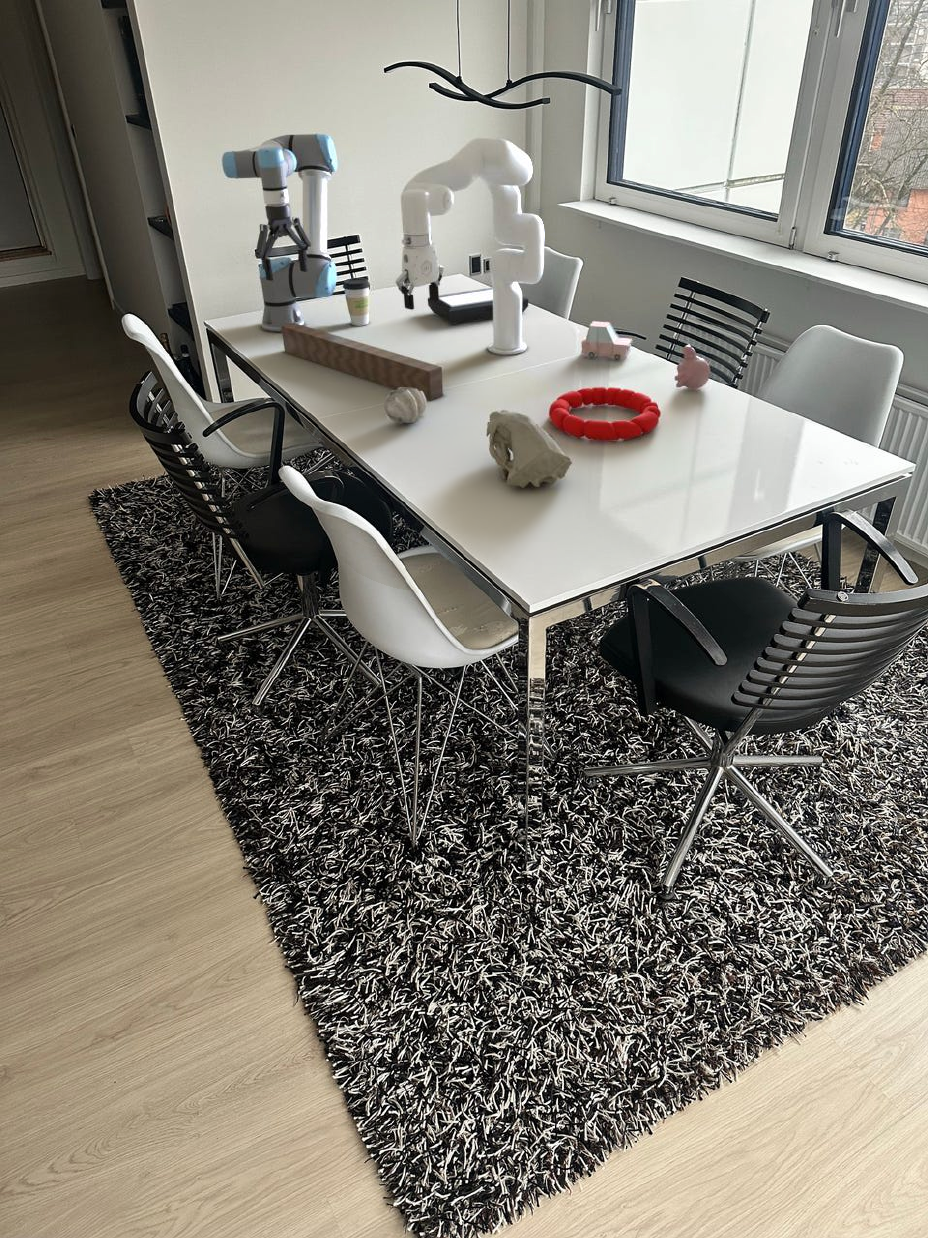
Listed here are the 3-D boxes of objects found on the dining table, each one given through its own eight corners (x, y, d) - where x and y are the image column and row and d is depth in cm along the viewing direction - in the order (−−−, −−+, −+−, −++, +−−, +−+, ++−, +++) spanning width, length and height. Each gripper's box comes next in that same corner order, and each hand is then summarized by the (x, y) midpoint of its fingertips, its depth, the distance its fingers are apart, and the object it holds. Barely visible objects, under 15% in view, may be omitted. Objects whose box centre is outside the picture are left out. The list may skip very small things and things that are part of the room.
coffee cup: (372, 326, 323) (368, 283, 314) (345, 327, 323) (340, 284, 315) (374, 318, 331) (371, 276, 322) (348, 319, 331) (344, 277, 323)
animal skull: (496, 517, 219) (521, 479, 201) (463, 429, 225) (484, 384, 207) (557, 503, 225) (586, 465, 206) (523, 417, 231) (549, 373, 212)
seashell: (375, 421, 248) (372, 387, 243) (423, 410, 254) (421, 376, 248) (391, 434, 241) (388, 398, 235) (439, 422, 246) (438, 387, 241)
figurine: (665, 387, 264) (669, 347, 257) (693, 380, 268) (698, 340, 261) (686, 396, 257) (690, 355, 250) (714, 388, 262) (720, 348, 255)
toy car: (626, 362, 283) (628, 330, 277) (579, 358, 288) (580, 327, 282) (632, 353, 290) (634, 322, 285) (586, 349, 295) (588, 318, 289)
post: (284, 351, 302) (281, 325, 297) (296, 348, 305) (293, 322, 300) (430, 400, 261) (429, 371, 256) (443, 395, 264) (441, 366, 259)
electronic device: (448, 308, 317) (427, 295, 332) (449, 326, 320) (428, 312, 335) (528, 296, 327) (504, 284, 342) (528, 313, 330) (504, 301, 346)
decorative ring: (589, 435, 224) (684, 402, 234) (527, 398, 247) (617, 369, 256) (589, 461, 229) (683, 427, 238) (529, 422, 251) (617, 393, 260)
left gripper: (250, 212, 266) (262, 285, 278) (316, 198, 280) (324, 269, 292) (236, 209, 270) (248, 281, 282) (301, 196, 284) (310, 265, 297)
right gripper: (403, 248, 233) (408, 314, 243) (450, 235, 243) (453, 299, 253) (384, 244, 237) (390, 309, 247) (430, 231, 247) (434, 294, 257)
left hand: (287, 275), depth 287 cm, fingers open, 13 cm apart
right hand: (422, 304), depth 250 cm, fingers open, 9 cm apart
